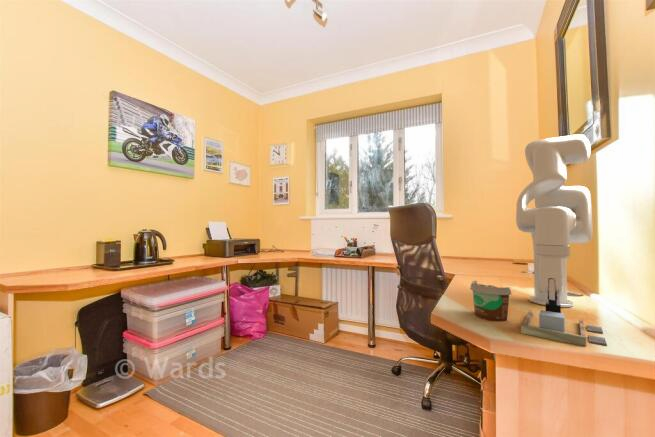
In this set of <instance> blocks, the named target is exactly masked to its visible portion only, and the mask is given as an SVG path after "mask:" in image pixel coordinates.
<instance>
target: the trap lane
mask: <svg viewBox="0 0 655 437" xmlns="http://www.w3.org/2000/svg"><path fill="white" fill-rule="evenodd" d="M533 314H534V311H533V310H528V312H527V314H526V316H525V319H524V321H523V323H522V324H520V333H521V334H524V335H528V336H533V337H538V338H543V339H547V340H548V339H549V340H554V341H558V342H563V343H568V344H574V345H578V346H583V347H587V337H588V341H589V344H595V345H601V346H608V345H607V344H608V343H607V340H606V337H601V336H596V335H591V334H588V336H586V331H585V324H584V318H581V317H579V318H578V319H579V320H578V324H579V332H580V333H579V334H580V335H579V334H575V333H574V334H573V333H569V332H565V333H564V332H559V331H553V330H548V329H542V328H539V327H536V326H531V325H530V323H531V321H532V318H533ZM586 330H587V332H589V333H596V334H601V335H604V332H603V329H602V326H595V325H590V324H586Z"/></svg>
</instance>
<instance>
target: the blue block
mask: <svg viewBox="0 0 655 437" xmlns="http://www.w3.org/2000/svg"><path fill="white" fill-rule="evenodd" d="M565 317H566V316H565V313H564V312H563V313H562V312H561V313H557V312H551V311H546V310H543V309H541V310H540V312H539V313H538V318H539V319H538V320H539V321H538V322H539V324H538V325H539V326H538V328H542V329H548V330H553V331H559V332H564V333H566V320H565V319H566V318H565Z"/></svg>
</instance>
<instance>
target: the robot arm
mask: <svg viewBox="0 0 655 437" xmlns="http://www.w3.org/2000/svg"><path fill="white" fill-rule="evenodd" d="M591 148H592V147H591V143H590V141H589V139H588V137H586V135H584V134H580V133H579V134H570V135H564V136H556V137H549V138H543V139H538V140H534V141H530V142H529V143H528V144H527V145H526V146H525V148H524V156H525V160H526V163H527V166H528V168H529V169H530V171H531V173H532V177H533V178H532V182H530V183H529V184H527V185H526V186H525V188H524V189H523V190H522V191H521V192H520V194H519V195H518V197H517V201H516V211H515V213H516V214H515V222H516V223H515V224H516V227H517V228H518V230H519V231H521V232H524V233H530V235H531V239H532V245H533V246H532V247H533V248H532V249H533V284H534V286H533V289H534V295H531V296H529V301H530V302H532V303H534V304H538V305H542V306H545V311H551V312H557V313H562V308H571V307H573V306H574V302H573V301H572V300H568V280H567V279H568V276H567V275H568V274H567V273H568V272H567V268H568V267H567V266H568V265H567V263H568V262H567V259H570V258H571V244H586V243H589V242H590V241H592V239H593V234H594V226H593V225H594V223H593V206H592V205H593V204H592V195H591V191H590V190H589V189H588V188H587V187H586V186H582V185H571V186H570V185H569V186H564V185H566V184H567V183H566V182H567V181H568V177H567V165H572V164H573V165H574V164H583V163H586V162H588V160H589V159H590V156H591V152H592V151H591V150H592V149H591ZM532 201H534V207H529V208H528V204H530V202H532Z"/></svg>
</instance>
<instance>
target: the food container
mask: <svg viewBox="0 0 655 437" xmlns="http://www.w3.org/2000/svg"><path fill="white" fill-rule="evenodd" d="M469 289H470V290H471V291H472V295H473V306H474V307H473V308H474V315H475V316H476V317H478V318H480V319H482V320H483V319H484V320H486V321H493V322H507V321H508V313H509V304H510V303H509V300H510V295H511V296H512V291H511V288H510V286H509V287H508V286H507V287H497V286H495V285H490V284H489V285H488V284H481V283H478V282H477V280H472V282H471V284H470V288H469Z"/></svg>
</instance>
